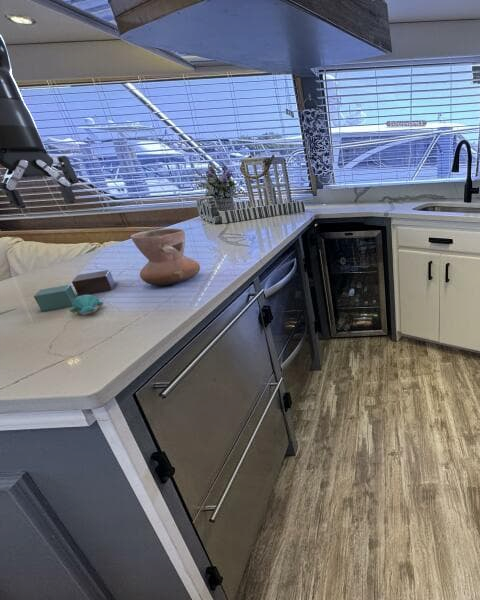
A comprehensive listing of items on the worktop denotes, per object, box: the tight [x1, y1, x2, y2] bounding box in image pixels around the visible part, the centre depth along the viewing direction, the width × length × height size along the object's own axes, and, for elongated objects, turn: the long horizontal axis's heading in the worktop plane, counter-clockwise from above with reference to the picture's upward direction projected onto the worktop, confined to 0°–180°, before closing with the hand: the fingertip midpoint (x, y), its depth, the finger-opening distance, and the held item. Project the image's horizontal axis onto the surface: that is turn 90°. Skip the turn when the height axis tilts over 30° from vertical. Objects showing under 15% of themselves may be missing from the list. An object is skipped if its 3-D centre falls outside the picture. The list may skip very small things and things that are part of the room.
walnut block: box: [71, 269, 116, 297], centre depth 89 cm, size 7×7×4 cm
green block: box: [33, 284, 78, 313], centre depth 79 cm, size 6×6×4 cm
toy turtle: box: [69, 294, 105, 316], centre depth 74 cm, size 6×7×4 cm
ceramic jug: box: [130, 228, 201, 286], centre depth 91 cm, size 18×14×14 cm
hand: (47, 205), depth 73 cm, fingers open, 8 cm apart
